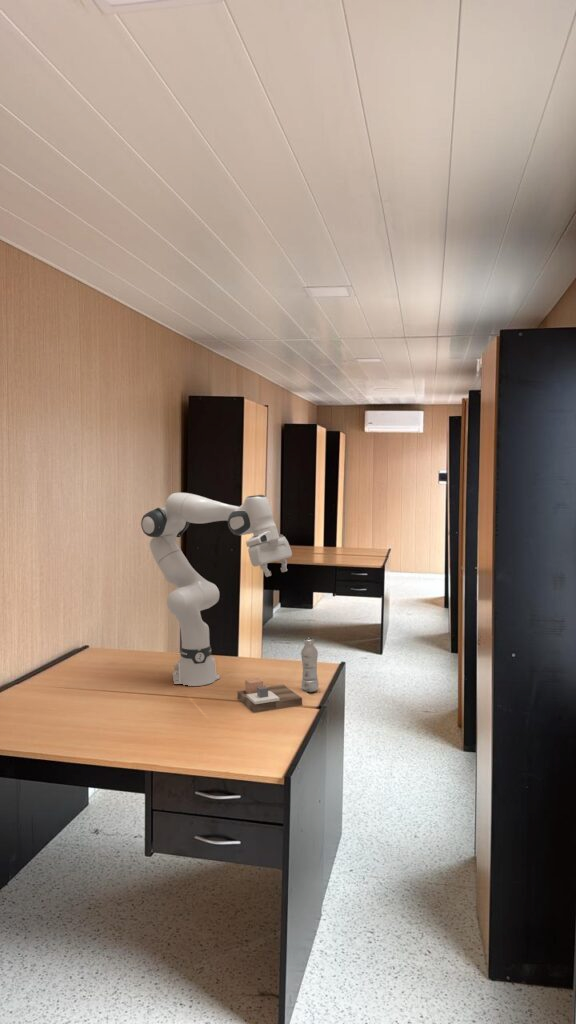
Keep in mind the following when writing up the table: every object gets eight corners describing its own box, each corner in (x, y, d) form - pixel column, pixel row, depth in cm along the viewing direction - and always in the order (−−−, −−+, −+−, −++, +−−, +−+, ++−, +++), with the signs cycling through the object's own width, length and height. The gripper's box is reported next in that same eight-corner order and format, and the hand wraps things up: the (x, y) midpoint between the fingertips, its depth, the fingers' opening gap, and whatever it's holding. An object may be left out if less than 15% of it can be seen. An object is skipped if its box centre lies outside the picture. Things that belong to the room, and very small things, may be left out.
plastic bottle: (298, 693, 279) (297, 640, 278) (306, 688, 285) (305, 636, 284) (314, 695, 276) (312, 641, 275) (321, 689, 282) (320, 637, 281)
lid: (246, 697, 264) (246, 686, 264) (270, 693, 267) (269, 682, 267) (254, 704, 256) (254, 692, 255) (279, 700, 259) (279, 689, 259)
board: (237, 700, 272) (237, 691, 272) (283, 693, 279) (283, 684, 279) (253, 715, 256) (253, 705, 255) (302, 707, 262) (302, 697, 262)
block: (245, 698, 271) (245, 679, 271) (258, 696, 273) (258, 677, 273) (250, 702, 267) (249, 683, 266) (263, 700, 268) (262, 681, 268)
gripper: (277, 535, 283) (287, 570, 282) (242, 543, 266) (252, 580, 265) (290, 531, 279) (300, 567, 278) (255, 539, 262) (266, 577, 262)
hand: (276, 574), depth 271 cm, fingers open, 8 cm apart
